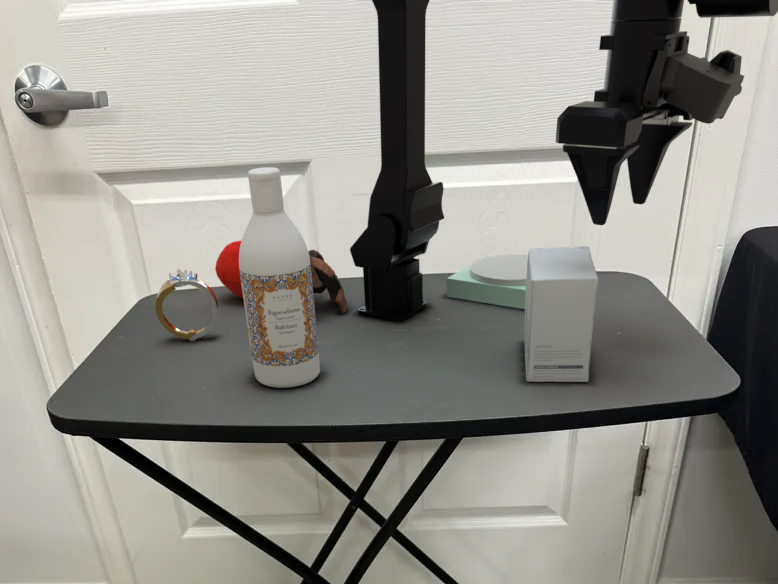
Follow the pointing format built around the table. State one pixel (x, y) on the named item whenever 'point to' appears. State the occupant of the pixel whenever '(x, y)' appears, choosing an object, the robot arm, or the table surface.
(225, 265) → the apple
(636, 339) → the table surface
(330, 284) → the brown curved piece
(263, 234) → the bath foam
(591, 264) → the cosmetics box
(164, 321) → the ring
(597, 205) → the robot arm
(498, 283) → the scale
